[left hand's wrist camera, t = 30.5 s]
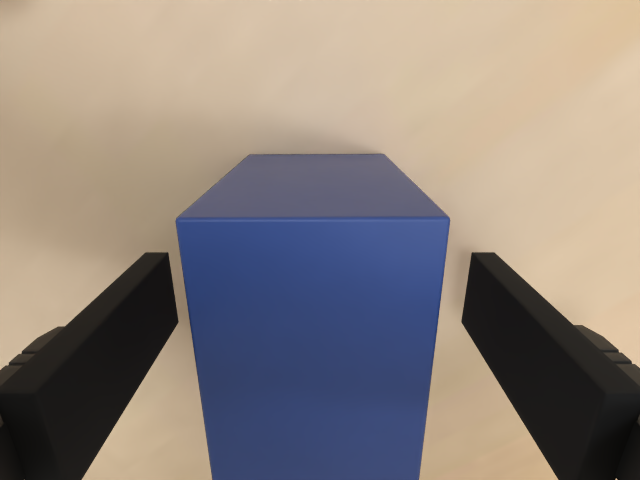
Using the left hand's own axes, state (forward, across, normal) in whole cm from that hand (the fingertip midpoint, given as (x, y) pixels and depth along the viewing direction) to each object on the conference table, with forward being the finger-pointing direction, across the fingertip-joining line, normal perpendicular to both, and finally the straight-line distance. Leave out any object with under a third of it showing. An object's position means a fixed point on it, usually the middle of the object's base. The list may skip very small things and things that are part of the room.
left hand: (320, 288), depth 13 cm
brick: (+3, 0, 0) cm, 3 cm away
